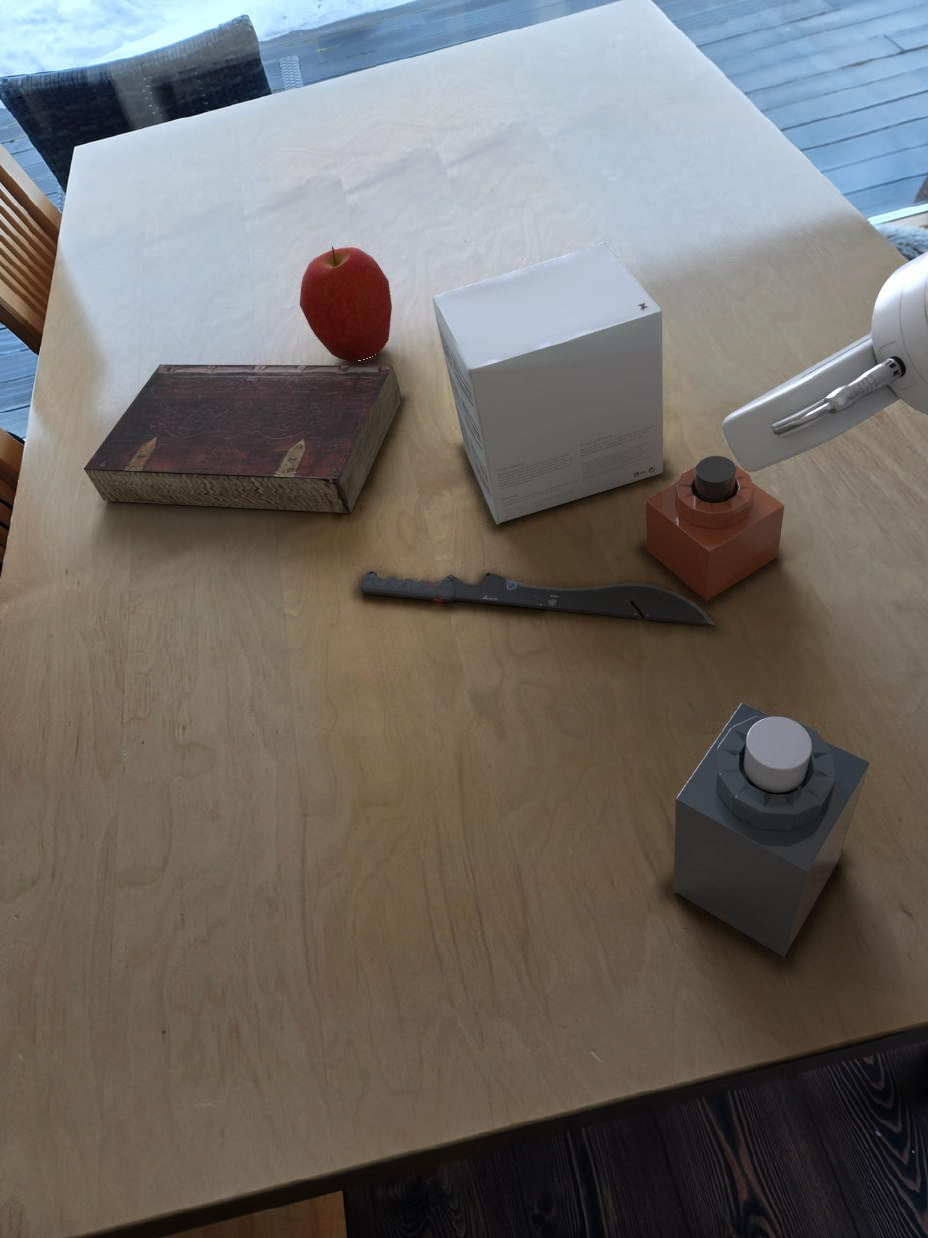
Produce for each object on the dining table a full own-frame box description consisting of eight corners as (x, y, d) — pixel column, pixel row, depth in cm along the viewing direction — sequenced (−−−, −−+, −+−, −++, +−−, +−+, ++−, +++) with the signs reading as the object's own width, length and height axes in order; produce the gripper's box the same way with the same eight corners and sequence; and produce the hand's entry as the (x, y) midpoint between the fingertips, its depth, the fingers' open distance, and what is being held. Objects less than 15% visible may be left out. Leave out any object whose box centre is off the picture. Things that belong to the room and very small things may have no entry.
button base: (777, 556, 81) (787, 489, 75) (706, 601, 79) (710, 535, 73) (714, 508, 86) (718, 441, 80) (646, 550, 84) (644, 484, 78)
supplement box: (615, 398, 98) (607, 237, 85) (666, 475, 90) (667, 309, 76) (460, 447, 98) (427, 291, 84) (496, 529, 89) (465, 370, 75)
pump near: (817, 758, 52) (823, 733, 50) (789, 804, 51) (794, 780, 49) (760, 731, 54) (764, 706, 52) (732, 774, 53) (735, 750, 51)
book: (402, 398, 105) (392, 360, 101) (351, 516, 93) (338, 478, 90) (176, 394, 112) (159, 360, 109) (105, 503, 101) (83, 468, 98)
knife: (719, 593, 79) (720, 588, 79) (714, 631, 77) (714, 626, 76) (373, 561, 89) (371, 557, 88) (358, 594, 86) (357, 590, 86)
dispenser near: (838, 861, 63) (876, 743, 52) (784, 958, 60) (812, 855, 48) (730, 803, 67) (743, 682, 56) (673, 891, 64) (675, 781, 52)
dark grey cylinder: (742, 491, 76) (744, 469, 74) (712, 509, 75) (713, 487, 74) (716, 471, 78) (717, 450, 76) (686, 489, 77) (686, 467, 76)
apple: (387, 319, 115) (360, 211, 105) (416, 358, 109) (390, 247, 99) (310, 349, 114) (274, 242, 104) (334, 390, 108) (299, 281, 97)
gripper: (843, 472, 46) (705, 513, 60) (1120, 301, 51) (935, 374, 64) (785, 359, 46) (659, 426, 59) (1071, 196, 50) (894, 292, 64)
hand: (804, 398), depth 62 cm, fingers closed
